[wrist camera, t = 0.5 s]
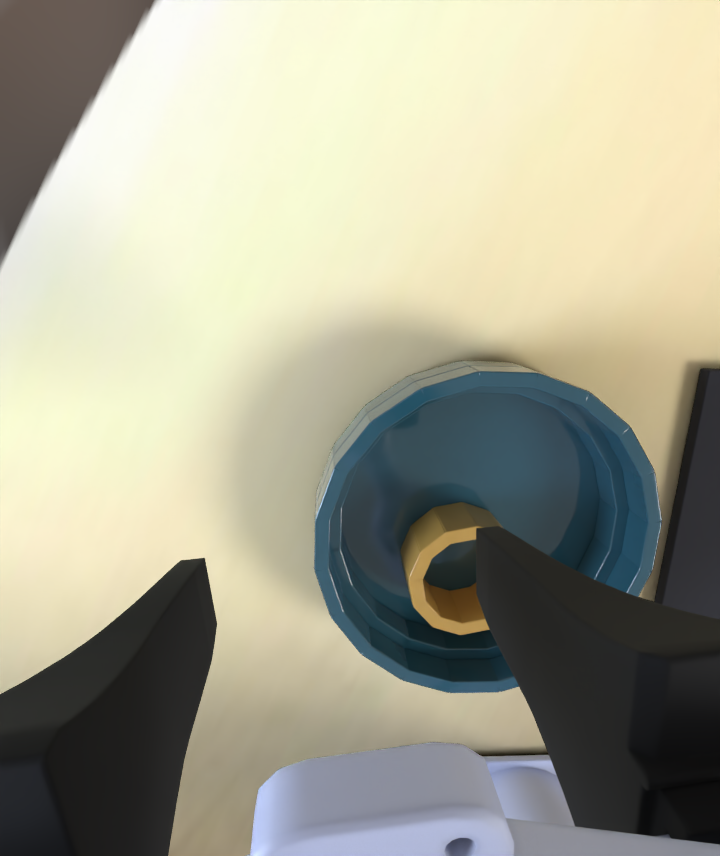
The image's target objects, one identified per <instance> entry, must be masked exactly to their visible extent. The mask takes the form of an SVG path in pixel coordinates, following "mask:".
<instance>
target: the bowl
mask: <svg viewBox="0 0 720 856" xmlns="http://www.w3.org/2000/svg"><path fill="white" fill-rule="evenodd" d="M459 502H464V503H467V504H470V505H473V506H476V507H479V508H482V509H485V510H488V511H489V512H490V513H491V514H492V515H493V516H494V517H495V518H496V520H497V521H498V522H499V523H500V524H501V526H502V527H503V528H504V529H505V530H507V531H509V532H510V533H512V534H514V535H515V536H517V537H519V538H520V539H522V540H524V541H525V542H527V543H528V544H530V545H532V546H533V547H535V548H537V549H538V550H540V551H542V552H543V553H545V554H547V555H548V556H550V557H552V558H554V559H555V560H557V561H559V562H561V563H563V564H565V565H566V566H568V567H570V568H572V569H574V570H576V571H578V572H580V573H582V574H584V575H586V576H588V577H590V578H592V579H595V580H597V581H599V582H601V583H604V584H606V585H609V586H611V587H613V588H616V589H618V590H621V591H623V592H626V593H629V594H631V595H634V596H637V597H638V596H639V595H640V593H641V591H642V589H643V587H644V585H645V583H646V582H647V580H648V578H649V576H650V574H651V572H652V570H653V566H654V561H655V556H656V551H657V545H658V540H659V535H660V530H661V525H662V517H661V510H660V503H659V496H658V489H657V482H656V475H655V472H654V469H653V467H652V465H651V463H650V461H649V460H648V458H647V456H646V454H645V452H644V450H643V449H642V447H641V445H640V443H639V441H638V439H637V438H636V436H635V434H634V432H633V430H632V428H631V427H630V426H629V425H628V424H627V423H626V422H625V421H624V420H622V419H621V418H620V417H619V416H618V415H617V414H615V413H614V412H613V411H612V410H611V409H610V408H608V407H607V406H606V405H605V404H604V403H603V402H601V401H600V400H599V399H598V398H597V397H596V396H594V395H593V394H592V393H590V392H589V391H587V390H584V389H581V388H579V387H576V386H574V385H571V384H568V383H566V382H563V381H561V380H558V379H555V378H553V377H550V376H547V375H545V374H542V373H539V372H537V371H534V370H531V369H529V368H526V367H523V366H521V365H518V364H515V363H511V362H488V361H457V362H454V363H450V364H447V365H443V366H440V367H437V368H433V369H430V370H426V371H423V372H420V373H416V374H413V375H410V376H408V377H406V378H405V379H403V380H402V381H400V382H399V383H397V384H396V385H394V386H393V387H391V388H390V389H388V390H387V391H385V392H384V393H382V394H381V395H379V396H378V397H376V398H375V399H373V400H372V401H370V402H369V403H367V404H366V405H365V407H363V408H362V410H361V411H360V412H359V414H358V415H357V416H356V417H355V419H354V420H353V421H352V422H351V424H350V425H349V426H348V427H347V429H346V430H345V431H344V432H343V434H342V435H341V436H340V438H339V439H338V440H337V441H336V443H335V444H334V446H333V447H332V450H331V452H330V455H329V458H328V461H327V463H326V466H325V469H324V472H323V474H322V477H321V480H320V483H319V485H318V488H317V492H316V509H315V551H314V569H315V574H316V577H317V579H318V582H319V585H320V588H321V591H322V594H323V597H324V600H325V603H326V605H327V608H328V611H329V614H330V616H331V618H332V619H333V620H334V622H335V623H336V624H337V625H338V626H339V628H340V629H341V630H342V631H343V633H344V634H345V635H346V636H347V638H348V639H349V640H350V641H351V643H352V644H353V645H354V646H355V648H356V649H357V650H358V651H359V652H360V653H361V654H362V655H363V656H364V657H366V658H368V659H369V660H371V661H372V662H374V663H376V664H377V665H379V666H380V667H382V668H383V669H385V670H387V671H388V672H390V673H391V674H393V675H394V676H396V677H398V678H399V679H401V680H403V681H406V682H410V683H414V684H417V685H421V686H425V687H429V688H432V689H436V690H440V691H444V692H447V693H449V692H450V693H478V692H499V691H500V692H501V691H505V690H508V689H512V688H515V687H519V685H518V683H517V681H516V679H515V677H514V675H513V674H512V672H511V670H510V668H509V666H508V664H507V662H506V660H505V658H504V656H503V655H502V653H501V651H500V649H499V647H498V645H497V643H496V641H495V639H494V637H493V635H492V633H491V631H490V630H485V631H479V632H474V633H469V634H464V635H458V634H455V633H451V632H448V631H444V630H441V629H437V628H434V627H432V626H431V625H430V624H429V623H428V622H427V621H426V620H425V619H424V618H423V617H422V616H421V614H420V613H419V612H418V611H417V610H416V609H415V608H414V607H413V605H412V601H411V597H410V594H409V590H408V587H407V583H406V579H405V576H404V570H403V564H402V559H401V553H400V552H401V551H400V550H401V547H402V545H403V542H404V540H405V538H406V535H407V533H408V530H409V528H410V526H411V525H412V524H413V523H414V522H416V521H417V520H418V519H419V518H421V517H422V516H423V515H425V514H426V513H427V512H428V511H430V510H431V509H432V508H434V507H438V506H443V505H448V504H454V503H459ZM424 579H425V581H426V582H427V583H428V584H429V585H432V586H435V587H438V588H442V589H445V590H448V591H451V590H456V589H461V588H467V587H471V586H472V585H473V584H474V583H476V539H475V540H469V541H464V542H459V543H454V544H450V545H449V546H448V547H446V548H445V549H444V550H442V551H441V552H440V553H439V554H437V555H436V556H435V557H433V558H432V560H431V562H430V564H429V567H428V569H427V571H426V574H425V576H424Z"/></svg>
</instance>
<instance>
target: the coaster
mask: <svg viewBox="0 0 720 856" xmlns="http://www.w3.org/2000/svg"><path fill="white" fill-rule="evenodd" d="M655 603H658V604H661V605H665V606H668V607H672V608H675V609H679V610H683V611H687V612H691V613H695V614H699V615H703V616H707V617H712V618H716V619H720V369H704V368H703V369H701V370H700V375H699V380H698V386H697V391H696V396H695V401H694V406H693V411H692V416H691V421H690V426H689V431H688V436H687V441H686V446H685V451H684V456H683V461H682V466H681V471H680V476H679V481H678V486H677V491H676V496H675V501H674V507H673V512H672V517H671V522H670V527H669V532H668V537H667V542H666V547H665V552H664V557H663V562H662V567H661V572H660V577H659V582H658V587H657V592H656V597H655Z"/></svg>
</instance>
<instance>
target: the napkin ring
mask: <svg viewBox="0 0 720 856" xmlns="http://www.w3.org/2000/svg"><path fill="white" fill-rule="evenodd" d="M493 526H500V527H502V526H501V524H500V523H499V522H498V521H497V520H496V518H495V517H494V516H493V515H492V514H491V513H490V512H489V511H488V510H485V509H482V508H479V507H476V506H473V505H470V504H467V503H464V502H459V503H454V504H448V505H443V506H438V507H434V508H432V509H431V510H430V511H428V512H427V513H426V514H425V515H423V516H422V517H421V518H419V519H418V520H417V521H416V522H414V523H413V524H412V525H411V526H410V528H409V530H408V533H407V535H406V538H405V540H404V542H403V545H402V547H401V550H400V551H401V552H400V553H401V559H402V564H403V570H404V576H405V579H406V583H407V587H408V590H409V594H410V597H411V601H412V605H413V607H414V608H415V609H416V610H417V611H418V612H419V613H420V614H421V616H422V617H423V618H424V619H425V620H426V621H427V622H428V623H429V624H430V625H431V626H432V627H434V628H437V629H441V630H444V631H448V632H451V633H455V634H458V635H464V634H469V633H474V632H479V631H485V630H490V629H489V627H488V625H487V622H486V619H485V617H484V614H483V611H482V609H481V606H480V603H479V600H478V597H477V594H476V583H474V584H473V585H472V586H471V587H467V588H461V589H456V590H451V591H448V590H445V589H442V588H438V587H435V586H432V585H429V584H428V583H427V582H426V581H425V579H424V576H425V574H426V571H427V569H428V567H429V564H430V562H431V560H432V558H433V557H435V556H436V555H437V554H439V553H440V552H441V551H442V550H444V549H445V548H446V547H448V546H449V545H450V544H454V543H459V542H464V541H469V540H475V539H476V528H484V527H493ZM502 528H503V527H502ZM503 529H504V528H503Z"/></svg>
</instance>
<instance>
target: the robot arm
mask: <svg viewBox="0 0 720 856" xmlns="http://www.w3.org/2000/svg"><path fill="white" fill-rule="evenodd" d="M476 594H477V597H478V600H479V603H480V606H481V609H482V611H483V614H484V617H485V619H486V622H487V625H488V627H489V629H490V631H491V633H492V635H493V637H494V639H495V641H496V643H497V645H498V647H499V649H500V651H501V653H502V655H503V656H504V658H505V660H506V662H507V664H508V666H509V668H510V670H511V672H512V674H513V675H514V677H515V679H516V681H517V683H518V685H519V687H520V689H521V691H522V693H523V695H524V696H525V698H526V701H527V703H528V705H529V707H530V709H531V711H532V713H533V716H534V718H535V721H536V723H537V726H538V728H539V731H540V733H541V736H542V738H543V741H544V743H545V746H546V748H547V751H548V754H549V755H521V756H481V755H479V754H477V753H476V752H474V751H473V750H471V749H470V748H468V747H466V746H465V745H462V744H454V743H441V742H430V743H422V744H415V745H407V746H400V747H392V748H385V749H377V750H370V751H363V752H355V753H348V754H340V755H333V756H325V757H318V758H310V759H306V760H303V761H300V762H297V763H294V764H291V765H288V766H285V767H282V768H280V769H278V770H277V771H276V772H275V773H274V774H273V775H272V776H271V777H270V778H269V779H268V780H267V781H266V782H265V783H264V784H263V785H262V786H261V787H260V788H259V791H258V796H257V802H256V807H255V814H254V824H253V834H252V844H251V854H248V855H246V856H720V619H716V618H712V617H707V616H703V615H699V614H695V613H691V612H687V611H683V610H679V609H675V608H672V607H668V606H665V605H661V604H658V603H655V602H652V601H649V600H646V599H643V598H640V597H637V596H634V595H631V594H629V593H626V592H623V591H621V590H618V589H616V588H613V587H611V586H609V585H606V584H604V583H601V582H599V581H597V580H595V579H592V578H590V577H588V576H586V575H584V574H582V573H580V572H578V571H576V570H574V569H572V568H570V567H568V566H566V565H565V564H563V563H561V562H559V561H557V560H555V559H554V558H552V557H550V556H548V555H547V554H545V553H543V552H542V551H540V550H538V549H537V548H535V547H533V546H532V545H530V544H528V543H527V542H525V541H524V540H522V539H520V538H519V537H517V536H515V535H514V534H512V533H510V532H509V531H507V530H505V529H503V528H502V527H500V526H493V527H484V528H476ZM216 627H217V621H216V616H215V611H214V605H213V600H212V595H211V589H210V584H209V579H208V573H207V568H206V563H205V558H200V559H191V560H181V561H180V562H179V563H177V564H176V565H175V566H174V567H173V568H172V569H171V570H170V571H168V572H167V573H166V574H165V575H164V576H163V577H162V578H161V579H160V580H159V581H158V582H157V583H156V584H155V585H154V586H153V587H151V588H150V589H149V590H148V591H147V592H146V593H145V594H144V595H143V596H142V597H141V598H140V599H138V600H137V601H136V602H135V603H134V604H133V605H132V606H131V607H129V608H128V609H127V610H126V611H125V612H123V613H122V614H121V615H120V616H119V617H118V618H116V619H115V620H114V621H113V622H112V623H110V624H109V625H108V626H107V627H106V628H104V629H103V630H102V631H101V632H99V633H98V634H97V635H95V636H94V637H93V638H91V639H90V640H89V641H87V642H86V643H84V644H83V645H81V646H80V647H79V648H77V649H76V650H74V651H73V652H71V653H70V654H68V655H67V656H65V657H64V658H62V659H61V660H59V661H57V662H56V663H54V664H52V665H51V666H49V667H48V668H46V669H44V670H43V671H41V672H39V673H38V674H36V675H34V676H33V677H31V678H29V679H28V680H26V681H24V682H22V683H21V684H19V685H17V686H15V687H13V688H11V689H9V690H7V691H6V692H4V693H2V694H0V856H168V852H169V846H170V840H171V833H172V827H173V821H174V815H175V809H176V802H177V797H178V791H179V786H180V780H181V774H182V769H183V763H184V758H185V754H186V750H187V746H188V742H189V738H190V735H191V731H192V728H193V724H194V721H195V717H196V714H197V710H198V707H199V704H200V700H201V697H202V693H203V690H204V686H205V683H206V679H207V675H208V672H209V668H210V665H211V661H212V655H213V649H214V642H215V635H216Z"/></svg>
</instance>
